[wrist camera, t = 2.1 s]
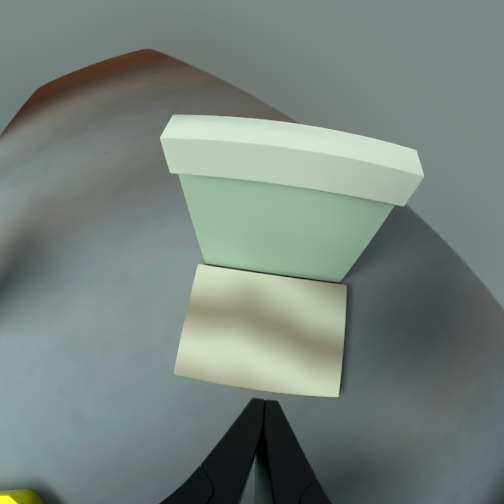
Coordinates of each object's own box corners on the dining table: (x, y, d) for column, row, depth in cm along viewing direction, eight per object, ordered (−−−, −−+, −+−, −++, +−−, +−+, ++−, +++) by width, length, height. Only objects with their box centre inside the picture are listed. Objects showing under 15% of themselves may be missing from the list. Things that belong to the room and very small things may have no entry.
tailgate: (339, 291, 24) (424, 176, 11) (203, 271, 25) (159, 138, 12) (339, 272, 25) (415, 150, 12) (208, 253, 26) (173, 114, 12)
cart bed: (335, 396, 20) (338, 397, 19) (175, 374, 21) (173, 373, 20) (344, 288, 25) (346, 285, 24) (199, 267, 25) (198, 264, 25)
